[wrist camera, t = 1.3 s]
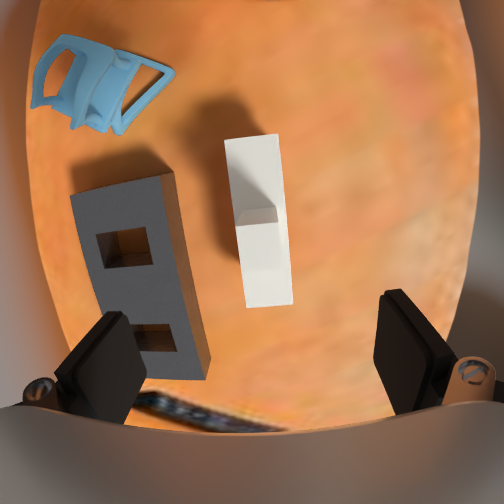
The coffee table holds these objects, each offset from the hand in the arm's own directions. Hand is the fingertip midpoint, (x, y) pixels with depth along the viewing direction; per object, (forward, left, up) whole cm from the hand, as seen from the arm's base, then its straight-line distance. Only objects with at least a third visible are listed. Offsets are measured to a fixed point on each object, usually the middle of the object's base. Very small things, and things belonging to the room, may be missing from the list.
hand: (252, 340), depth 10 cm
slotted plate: (+6, -13, -19) cm, 24 cm away
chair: (-14, -12, -20) cm, 27 cm away
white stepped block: (0, 0, -19) cm, 19 cm away
